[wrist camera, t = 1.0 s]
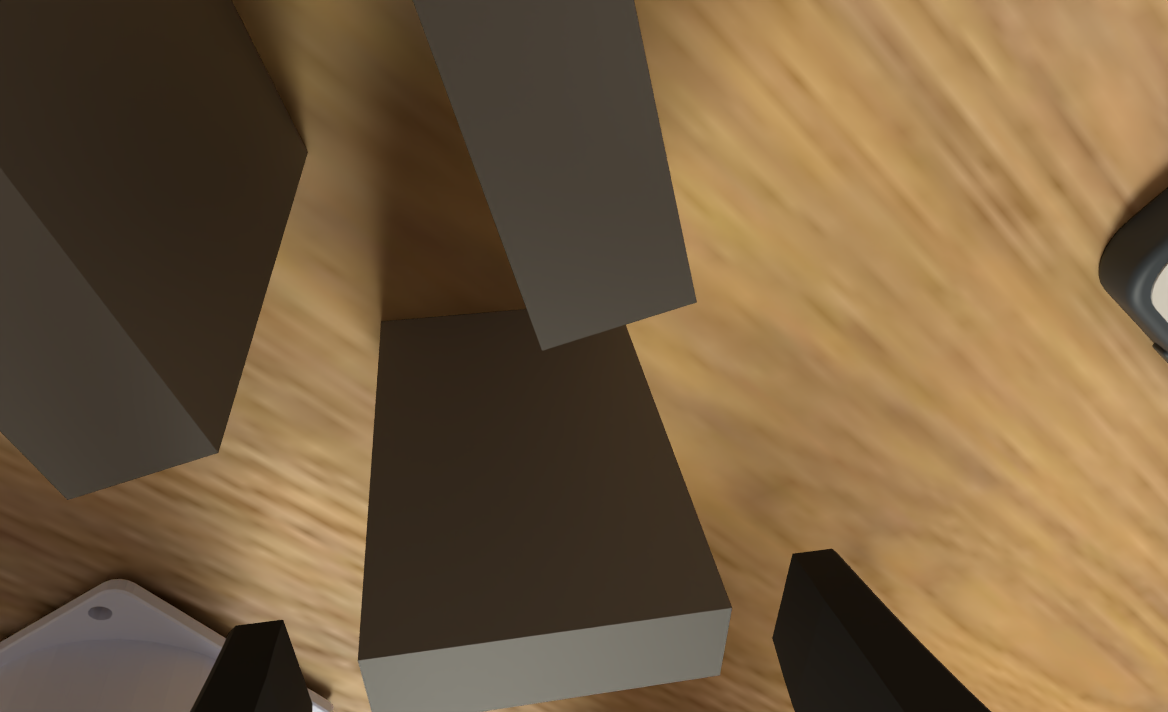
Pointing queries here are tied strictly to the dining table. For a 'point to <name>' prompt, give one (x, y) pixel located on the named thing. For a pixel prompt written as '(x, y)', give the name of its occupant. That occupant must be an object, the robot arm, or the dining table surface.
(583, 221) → the domino
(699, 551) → the end domino
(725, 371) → the dining table surface
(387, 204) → the dining table surface
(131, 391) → the domino
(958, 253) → the dining table surface
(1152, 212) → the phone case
